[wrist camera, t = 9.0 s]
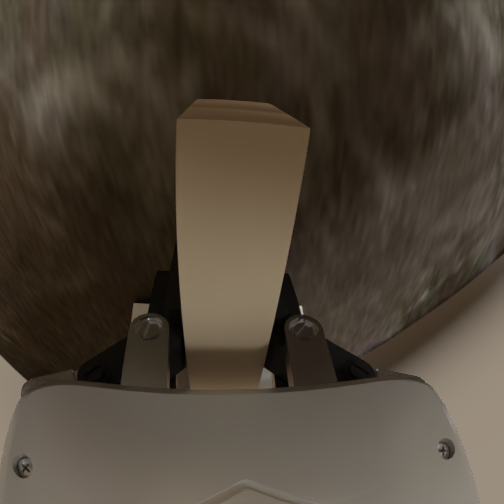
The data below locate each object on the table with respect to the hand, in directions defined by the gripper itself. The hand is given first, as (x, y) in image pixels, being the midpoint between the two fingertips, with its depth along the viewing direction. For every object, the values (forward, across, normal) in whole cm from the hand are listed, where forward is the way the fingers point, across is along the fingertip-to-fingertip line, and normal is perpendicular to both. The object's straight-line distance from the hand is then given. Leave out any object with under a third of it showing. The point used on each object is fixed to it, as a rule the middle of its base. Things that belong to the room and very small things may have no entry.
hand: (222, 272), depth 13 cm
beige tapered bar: (0, 0, 0) cm, 0 cm away
